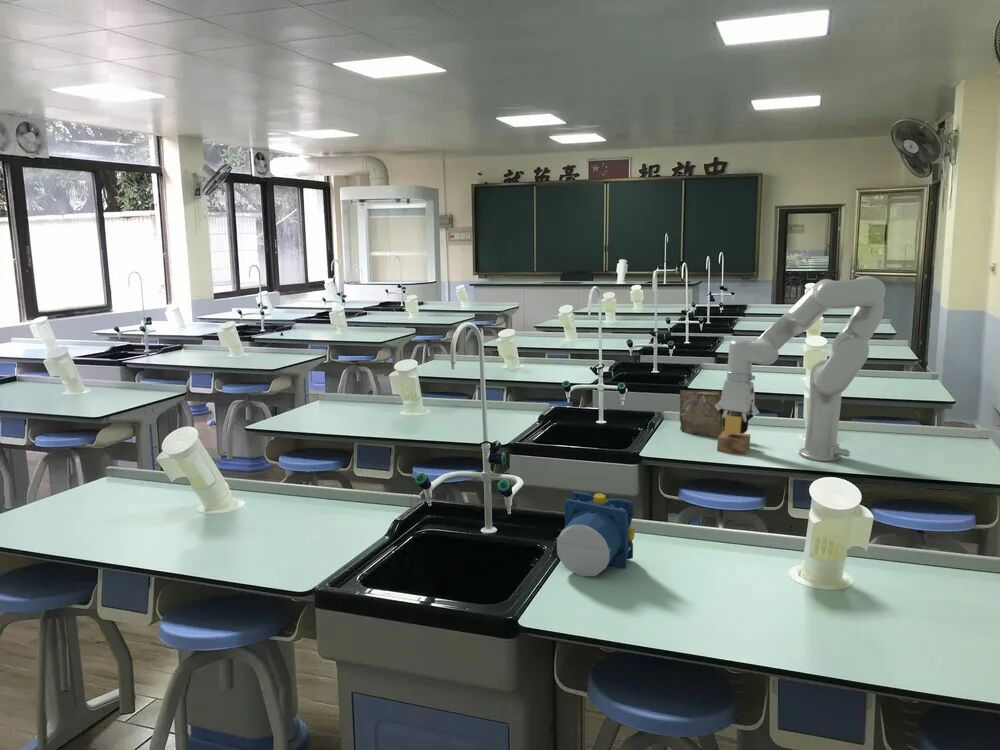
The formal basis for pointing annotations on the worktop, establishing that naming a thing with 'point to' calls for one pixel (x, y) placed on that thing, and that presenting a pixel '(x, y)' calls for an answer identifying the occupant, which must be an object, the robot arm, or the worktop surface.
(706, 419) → the mineral sample
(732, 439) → the specimen box
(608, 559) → the valve
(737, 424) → the canister
